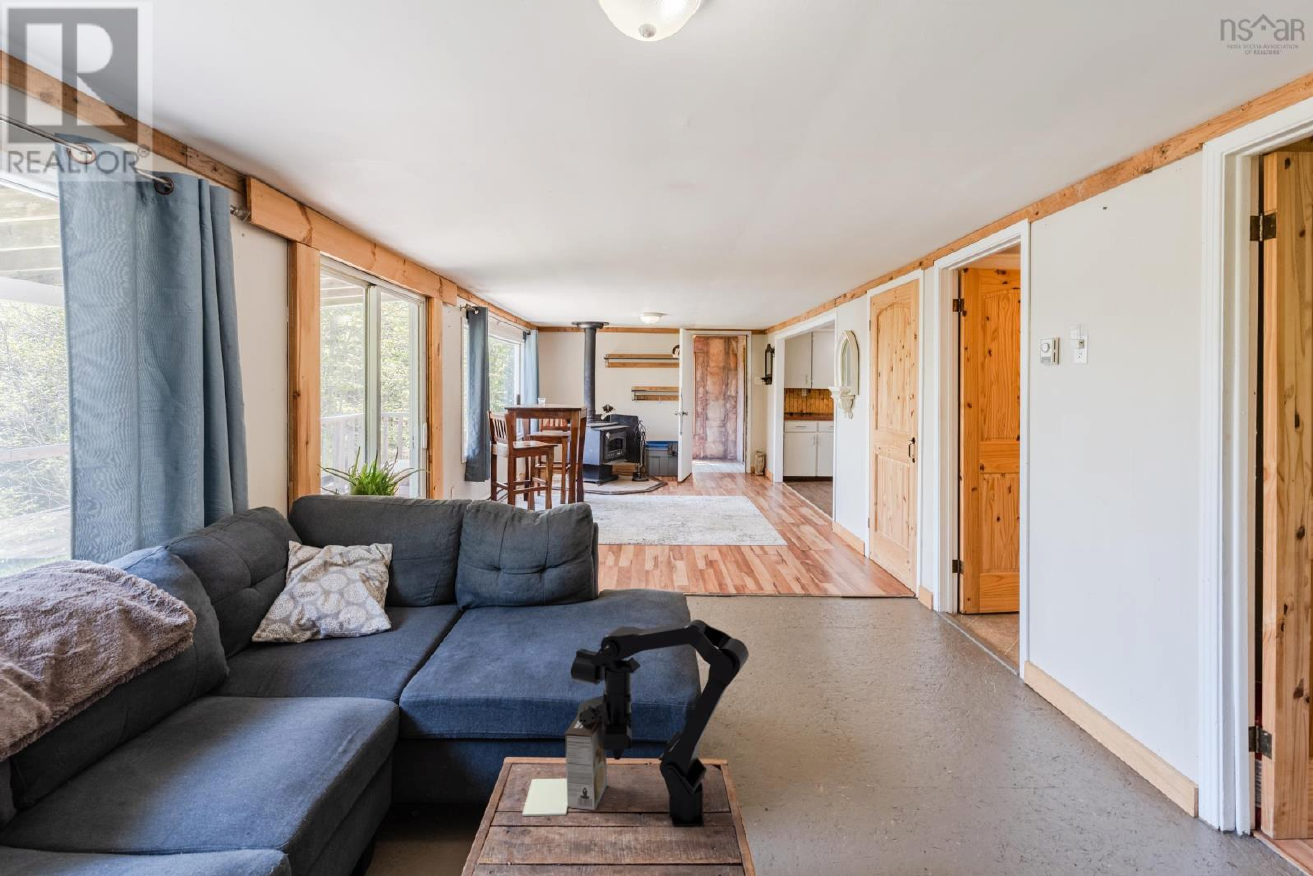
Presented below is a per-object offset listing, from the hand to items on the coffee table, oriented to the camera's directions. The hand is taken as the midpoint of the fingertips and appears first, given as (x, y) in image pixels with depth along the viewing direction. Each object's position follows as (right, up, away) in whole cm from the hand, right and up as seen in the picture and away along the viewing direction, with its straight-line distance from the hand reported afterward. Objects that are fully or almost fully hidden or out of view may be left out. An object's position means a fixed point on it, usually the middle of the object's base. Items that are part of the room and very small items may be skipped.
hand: (617, 759), depth 128 cm
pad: (-15, -8, 0) cm, 17 cm away
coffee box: (-6, -8, 0) cm, 10 cm away
